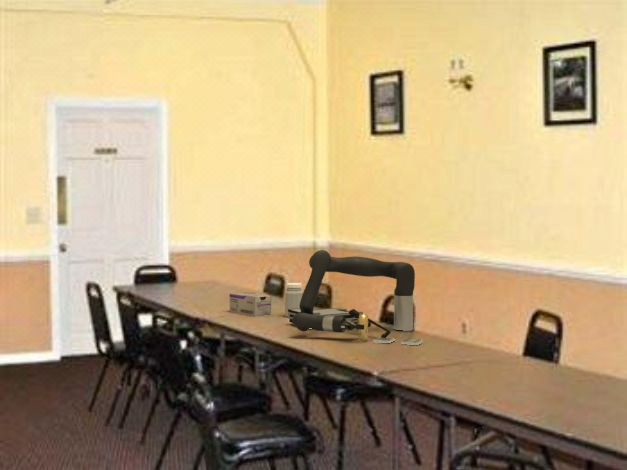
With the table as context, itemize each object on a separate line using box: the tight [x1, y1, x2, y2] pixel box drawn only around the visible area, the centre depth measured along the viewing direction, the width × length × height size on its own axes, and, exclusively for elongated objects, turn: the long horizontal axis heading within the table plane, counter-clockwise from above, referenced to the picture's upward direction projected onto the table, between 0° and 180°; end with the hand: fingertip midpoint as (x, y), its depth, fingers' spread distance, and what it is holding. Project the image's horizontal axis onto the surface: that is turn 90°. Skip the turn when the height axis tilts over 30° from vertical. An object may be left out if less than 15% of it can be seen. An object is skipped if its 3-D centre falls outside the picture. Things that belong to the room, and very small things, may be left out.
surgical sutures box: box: [229, 291, 272, 318], centre depth 538 cm, size 25×11×11 cm, turn 38°
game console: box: [287, 307, 364, 324], centre depth 494 cm, size 21×32×8 cm, turn 120°
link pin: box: [358, 313, 369, 342], centre depth 444 cm, size 4×4×12 cm
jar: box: [284, 282, 304, 318], centre depth 524 cm, size 10×10×18 cm
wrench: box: [348, 308, 391, 338], centre depth 456 cm, size 5×5×30 cm
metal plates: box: [373, 336, 424, 346], centre depth 438 cm, size 8×20×2 cm, turn 67°
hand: (367, 325), depth 443 cm, fingers open, 8 cm apart
